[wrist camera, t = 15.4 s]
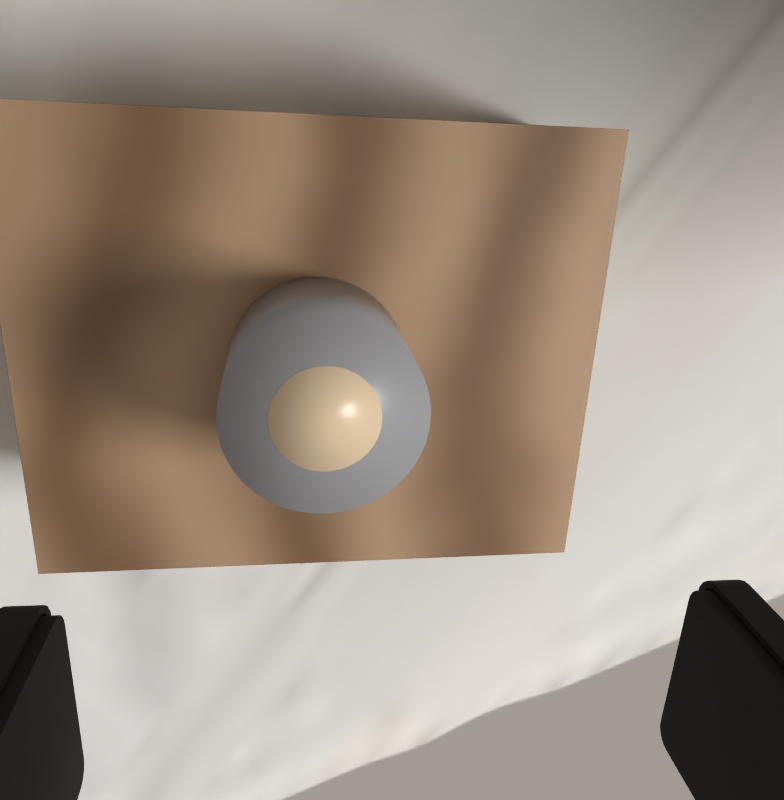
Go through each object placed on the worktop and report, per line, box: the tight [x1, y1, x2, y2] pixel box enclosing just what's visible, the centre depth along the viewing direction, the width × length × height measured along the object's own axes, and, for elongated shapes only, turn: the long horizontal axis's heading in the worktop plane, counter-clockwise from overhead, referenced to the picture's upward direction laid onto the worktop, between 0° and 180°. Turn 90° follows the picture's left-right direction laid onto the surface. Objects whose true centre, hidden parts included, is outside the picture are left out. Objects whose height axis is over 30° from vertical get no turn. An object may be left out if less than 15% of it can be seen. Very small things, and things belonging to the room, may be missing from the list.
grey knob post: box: [216, 277, 431, 514], centre depth 23 cm, size 6×6×5 cm
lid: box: [0, 99, 629, 574], centre depth 25 cm, size 20×16×1 cm
